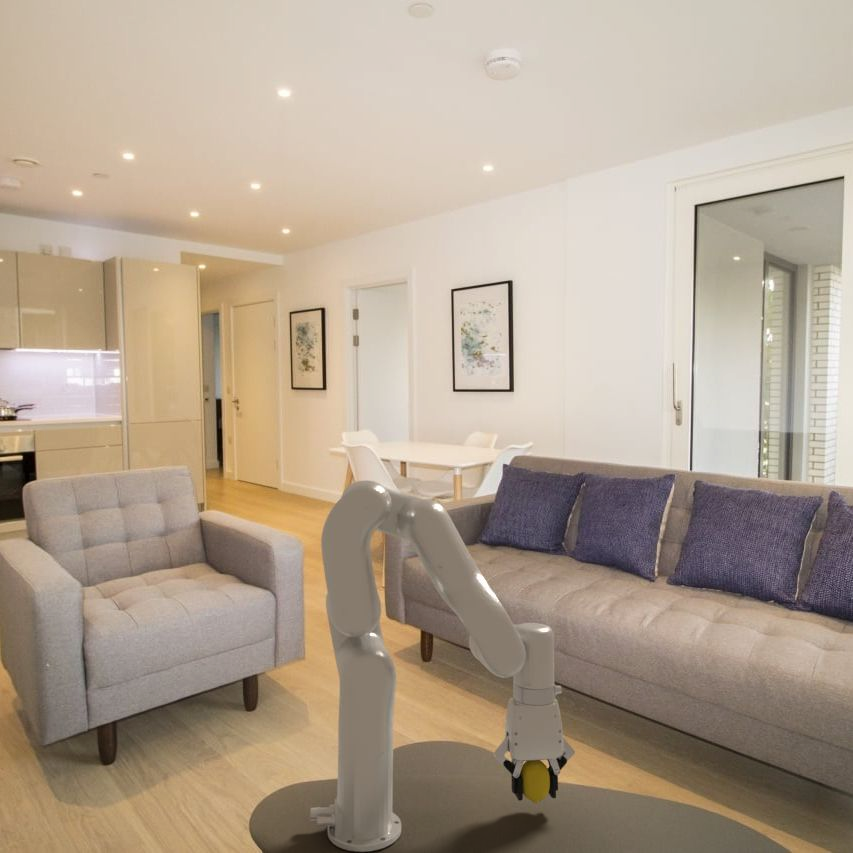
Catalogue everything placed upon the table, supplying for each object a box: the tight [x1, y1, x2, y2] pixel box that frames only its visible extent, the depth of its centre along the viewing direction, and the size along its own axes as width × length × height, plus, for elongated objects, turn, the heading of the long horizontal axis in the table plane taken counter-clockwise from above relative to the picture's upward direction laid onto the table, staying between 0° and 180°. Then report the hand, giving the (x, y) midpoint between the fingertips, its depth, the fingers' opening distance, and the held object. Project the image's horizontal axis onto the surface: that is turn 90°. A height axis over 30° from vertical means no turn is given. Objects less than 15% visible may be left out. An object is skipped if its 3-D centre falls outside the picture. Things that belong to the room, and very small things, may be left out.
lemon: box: [520, 760, 550, 805], centre depth 117 cm, size 6×6×8 cm
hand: (534, 794), depth 116 cm, fingers closed on lemon, 5 cm apart
